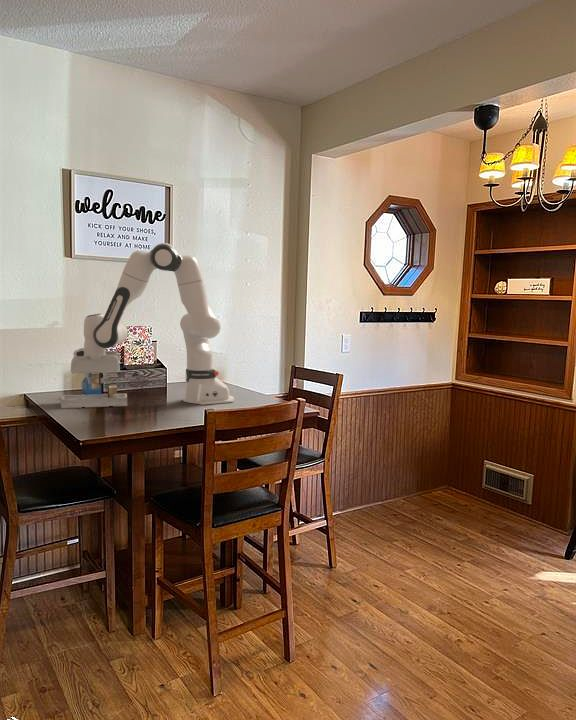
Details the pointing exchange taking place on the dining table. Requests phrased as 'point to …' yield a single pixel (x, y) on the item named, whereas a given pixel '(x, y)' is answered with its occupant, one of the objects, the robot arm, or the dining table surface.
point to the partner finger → (112, 391)
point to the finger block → (95, 380)
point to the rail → (93, 400)
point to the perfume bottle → (89, 387)
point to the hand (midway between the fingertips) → (96, 383)
